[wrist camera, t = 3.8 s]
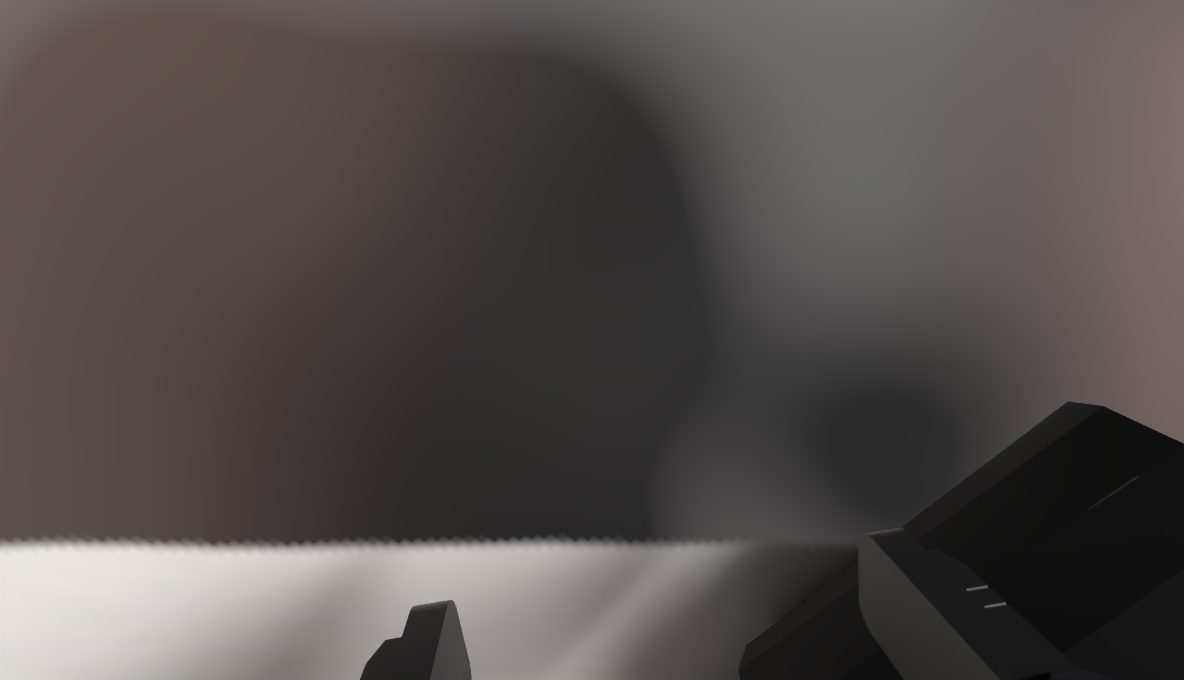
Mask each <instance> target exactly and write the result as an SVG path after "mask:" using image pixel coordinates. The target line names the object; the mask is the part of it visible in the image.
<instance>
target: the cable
mask: <svg viewBox="0 0 1184 680" xmlns="http://www.w3.org/2000/svg"><path fill="white" fill-rule="evenodd" d="M902 528H903V529H904V530H906V531H907V532H908V533H909V534H910V535H911V536H912V537H913V538H914V539H915V540H916V541H917V542H918V543H919V544H920V545H921V546H922V547H923V548H924V549H925V550H926V551H930V550H936V549H937V550H939V551H941V552H943V553H944V554H946V555H948V556H950V557H952V558H954V559H956V560H958V561H960V562H961V563H963V564H965V565H966V566H968V567H969V568H970V569H971V570H972V571H973V572H974V573H975V574H976V575H977V576H978V577H980V578H981V579H982V580H983V581H984V582H985V583H986V584H987V586H988V588H989V589H993V590H994V591H995V592H996V593H997V594H998V595H999V596H1000V597H1001V598H1002V599H1003V600H1005V601H1006V604H1007V606H1011V607H1012V608H1013V609H1014V610H1015V611H1017V612H1018V613H1019V614H1020V615H1021V616H1022V617H1023V618H1024V619H1025V620H1026V621H1027V622H1029V623H1030V624H1031V625H1032V626H1033V627H1034V628H1035V629H1036V630H1037V631H1038V632H1039V633H1040V634H1042V635H1043V636H1044V637H1045V638H1046V639H1047V640H1048V641H1049V642H1050V643H1051V644H1052V645H1054V646H1055V647H1056V648H1057V649H1058V650H1059V651H1060V652H1061V653H1062V654H1063V655H1064V656H1066V657H1067V658H1068V659H1069V660H1070V661H1071V662H1072V663H1073V664H1074V665H1075V666H1076V667H1077V668H1079V669H1080V670H1081V671H1088V672H1094V673H1098V674H1102V675H1105V676H1108V677H1112V678H1114V679H1117V680H1184V444H1183V443H1181V442H1179V441H1177V440H1175V439H1172V438H1170V437H1168V436H1166V435H1163V434H1162V433H1159V432H1157V431H1155V430H1153V429H1151V428H1149V427H1147V426H1144V425H1142V424H1140V423H1138V422H1136V421H1134V420H1132V419H1129V418H1127V417H1125V416H1123V415H1121V414H1119V413H1117V412H1114V411H1112V410H1110V409H1108V408H1106V407H1104V406H1098V405H1090V404H1083V403H1075V402H1067V403H1065V404H1064V405H1063V406H1061V407H1060V408H1059V409H1057V410H1056V411H1055V412H1053V413H1052V414H1051V415H1049V416H1048V417H1047V418H1045V419H1044V420H1043V421H1042V422H1040V423H1039V424H1038V425H1036V426H1035V427H1034V428H1032V429H1031V430H1030V431H1028V432H1027V433H1026V434H1024V435H1023V436H1022V437H1020V438H1019V439H1018V440H1016V441H1015V442H1014V443H1013V444H1011V445H1010V446H1009V447H1007V448H1006V449H1005V450H1003V451H1002V452H1001V453H999V454H998V455H997V456H995V457H994V458H993V459H992V460H990V461H989V462H988V463H986V464H985V465H984V466H982V467H981V468H980V469H978V470H977V471H976V472H974V473H973V474H972V475H970V476H969V477H968V478H967V479H965V480H964V481H963V482H961V483H960V484H959V485H957V486H956V487H955V488H953V489H952V490H951V491H949V492H948V493H947V494H945V495H944V496H943V497H941V498H940V499H939V500H937V501H936V502H935V503H933V504H932V505H931V506H930V507H928V508H927V509H926V510H924V511H923V512H922V513H920V514H919V515H918V516H916V517H915V518H914V519H913V520H911V521H910V522H908V523H907V524H906V525H905V526H903V527H902ZM739 674H740V680H904V679H903V678H902V676H901V675H900V674H899V672H898V671H897V669H896V668H895V667H894V665H893V664H892V662H891V661H890V660H889V658H888V657H887V655H886V654H885V653H884V651H883V650H882V648H881V647H880V646H879V644H878V643H877V641H876V640H875V639H874V637H873V636H872V634H871V633H870V631H869V629H868V627H867V625H866V623H865V621H864V618H863V615H862V612H861V608H860V603H859V579H858V561H857V562H856V563H854V564H853V565H852V566H850V567H849V568H848V569H847V570H845V571H844V572H843V573H841V574H840V575H839V576H837V577H836V578H835V579H833V580H832V581H831V582H829V583H828V584H827V585H825V586H824V587H823V588H821V589H820V590H819V591H818V592H816V593H815V594H814V595H812V596H811V597H810V598H808V599H807V600H806V601H804V602H803V603H802V604H800V605H799V606H798V607H796V608H795V609H794V610H792V611H791V612H790V613H789V614H787V615H786V616H785V617H783V618H782V619H781V620H779V621H778V622H777V623H775V624H774V625H773V626H771V627H770V628H769V629H767V630H766V631H765V632H763V633H762V634H761V635H760V636H758V637H757V638H756V639H754V640H753V641H752V642H750V643H749V644H748V645H746V649H745V652H744V655H743V658H742V662H741V665H740V668H739Z"/></svg>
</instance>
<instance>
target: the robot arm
mask: <svg viewBox="0 0 1184 680" xmlns="http://www.w3.org/2000/svg"><path fill="white" fill-rule="evenodd" d="M858 579H859V603H860V608H861V612H862V615H863V618H864V621H865V623H866V625H867V627H868V629H869V631H870V633H871V634H872V636H873V637H874V639H875V640H876V641H877V643H878V644H879V646H880V647H881V648H882V650H883V651H884V653H885V654H886V655H887V657H888V658H889V660H890V661H891V662H892V664H893V665H894V667H895V668H896V669H897V671H898V672H899V674H900V675H901V676H902V678H903V679H904V680H1117V679H1114V678H1112V677H1108V676H1105V675H1102V674H1098V673H1094V672H1088V671H1081V670H1080V669H1079V668H1077V667H1076V666H1075V665H1074V664H1073V663H1072V662H1071V661H1070V660H1069V659H1068V658H1067V657H1066V656H1064V655H1063V654H1062V653H1061V652H1060V651H1059V650H1058V649H1057V648H1056V647H1055V646H1054V645H1052V644H1051V643H1050V642H1049V641H1048V640H1047V639H1046V638H1045V637H1044V636H1043V635H1042V634H1040V633H1039V632H1038V631H1037V630H1036V629H1035V628H1034V627H1033V626H1032V625H1031V624H1030V623H1029V622H1027V621H1026V620H1025V619H1024V618H1023V617H1022V616H1021V615H1020V614H1019V613H1018V612H1017V611H1015V610H1014V609H1013V608H1012V607H1011V606H1007V604H1006V601H1005V600H1003V599H1002V598H1001V597H1000V596H999V595H998V594H997V593H996V592H995V591H994V590H993V589H989V588H988V586H987V584H986V583H985V582H984V581H983V580H982V579H981V578H980V577H978V576H977V575H976V574H975V573H974V572H973V571H972V570H971V569H970V568H969V567H968V566H966V565H965V564H963V563H961V562H960V561H958V560H956V559H954V558H952V557H950V556H948V555H946V554H944V553H943V552H941V551H939V550H937V549H936V550H930V551H926V550H925V549H924V548H923V547H922V546H921V545H920V544H919V543H918V542H917V541H916V540H915V539H914V538H913V537H912V536H911V535H910V534H909V533H908V532H907V531H906V530H904V529H903V528H900V527H897V528H891V529H885V530H879V531H873V532H867V533H862V534H861V535H860V536H859V539H858ZM360 680H471V669H470V663H469V659H468V654H467V650H466V646H465V642H464V638H463V634H462V629H461V625H460V621H459V617H458V613H457V609H456V606H455V603H454V601H453V600H448V601H442V602H436V603H430V604H424V605H418V606H413V607H412V609H411V611H410V613H409V616H408V619H407V622H406V626H405V629H404V632H403V635H402V637H401V638H395V639H389V640H385V641H384V642H383V644H382V645H381V646H380V647H379V649H378V650H377V651H376V652H375V653H374V655H373V656H372V657H371V658H370V660H369V661H368V662H367V663H366V665H365V668H364V670H363V673H362V676H361V678H360Z"/></svg>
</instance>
